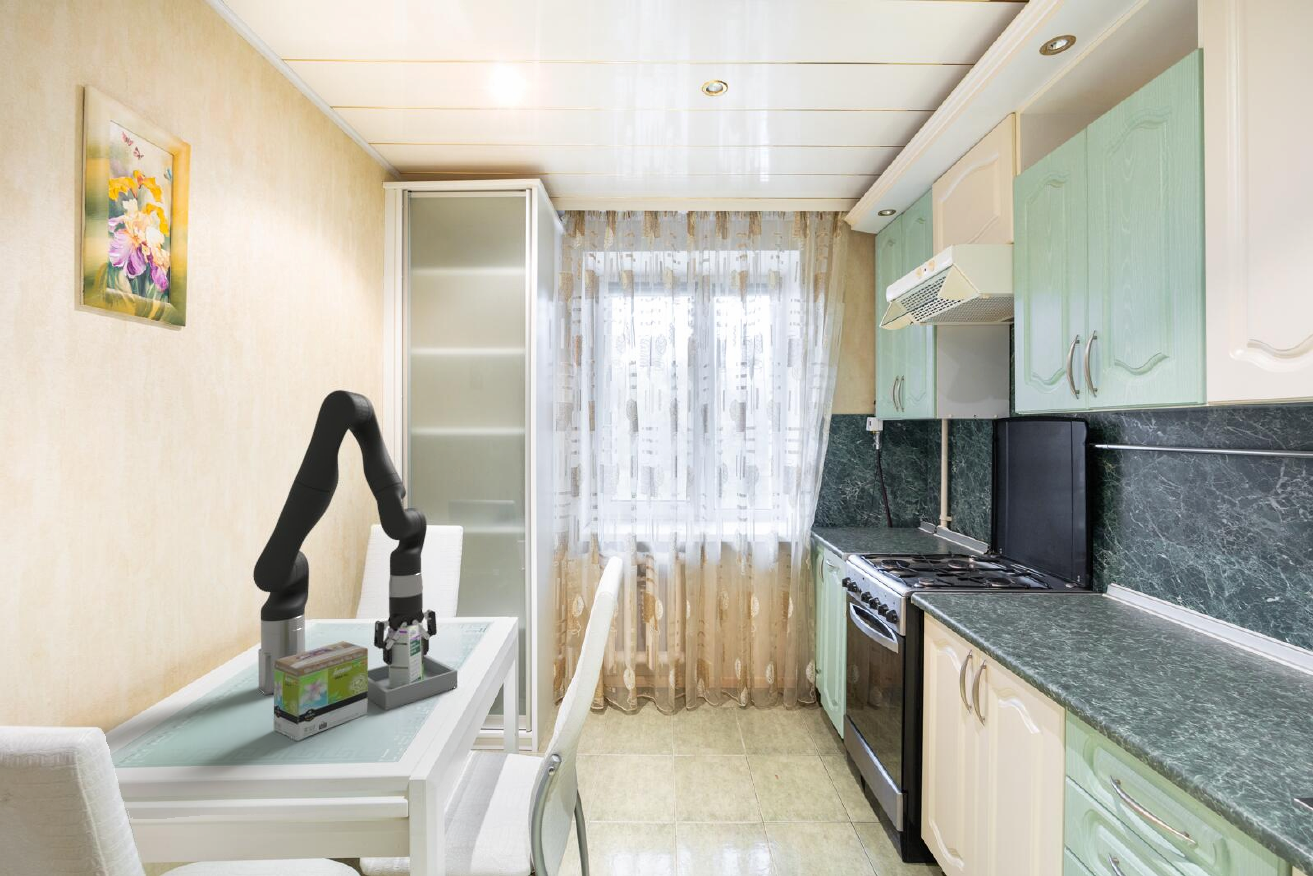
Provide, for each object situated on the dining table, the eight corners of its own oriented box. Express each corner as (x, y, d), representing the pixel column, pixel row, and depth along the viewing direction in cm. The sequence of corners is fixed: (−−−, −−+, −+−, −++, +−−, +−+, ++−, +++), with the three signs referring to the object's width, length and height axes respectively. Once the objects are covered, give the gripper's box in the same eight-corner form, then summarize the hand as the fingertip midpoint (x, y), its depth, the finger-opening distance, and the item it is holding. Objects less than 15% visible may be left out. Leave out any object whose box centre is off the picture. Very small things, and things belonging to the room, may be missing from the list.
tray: (386, 710, 134) (385, 692, 134) (356, 689, 146) (356, 673, 146) (457, 687, 147) (457, 670, 147) (425, 669, 158) (425, 654, 158)
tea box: (298, 743, 120) (298, 668, 120) (272, 731, 126) (272, 659, 126) (369, 714, 133) (368, 646, 133) (343, 704, 138) (342, 639, 138)
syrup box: (410, 690, 143) (409, 628, 143) (388, 688, 144) (387, 627, 144) (424, 680, 148) (423, 621, 149) (402, 679, 150) (402, 620, 150)
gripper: (427, 584, 154) (427, 648, 154) (369, 594, 144) (369, 663, 144) (441, 589, 149) (441, 655, 149) (382, 600, 139) (382, 671, 139)
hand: (406, 659), depth 146 cm, fingers open, 8 cm apart
